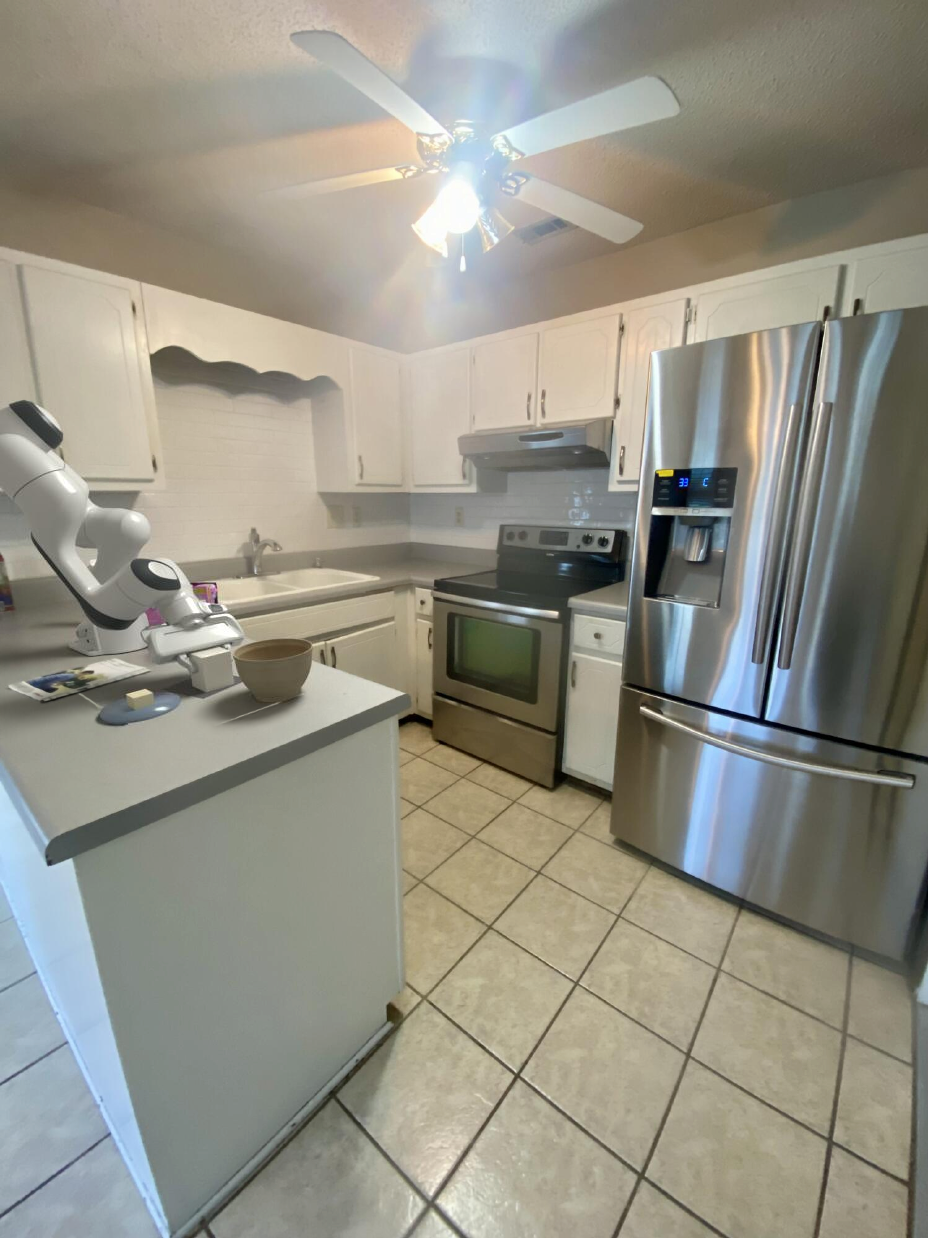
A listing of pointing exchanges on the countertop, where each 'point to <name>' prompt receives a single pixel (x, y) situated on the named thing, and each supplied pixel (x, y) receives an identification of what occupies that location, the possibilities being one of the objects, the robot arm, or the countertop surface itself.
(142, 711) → the plate
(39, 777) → the countertop surface
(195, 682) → the white rectangular block
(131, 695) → the butter
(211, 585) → the gum box
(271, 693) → the planter bowl
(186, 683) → the mat
